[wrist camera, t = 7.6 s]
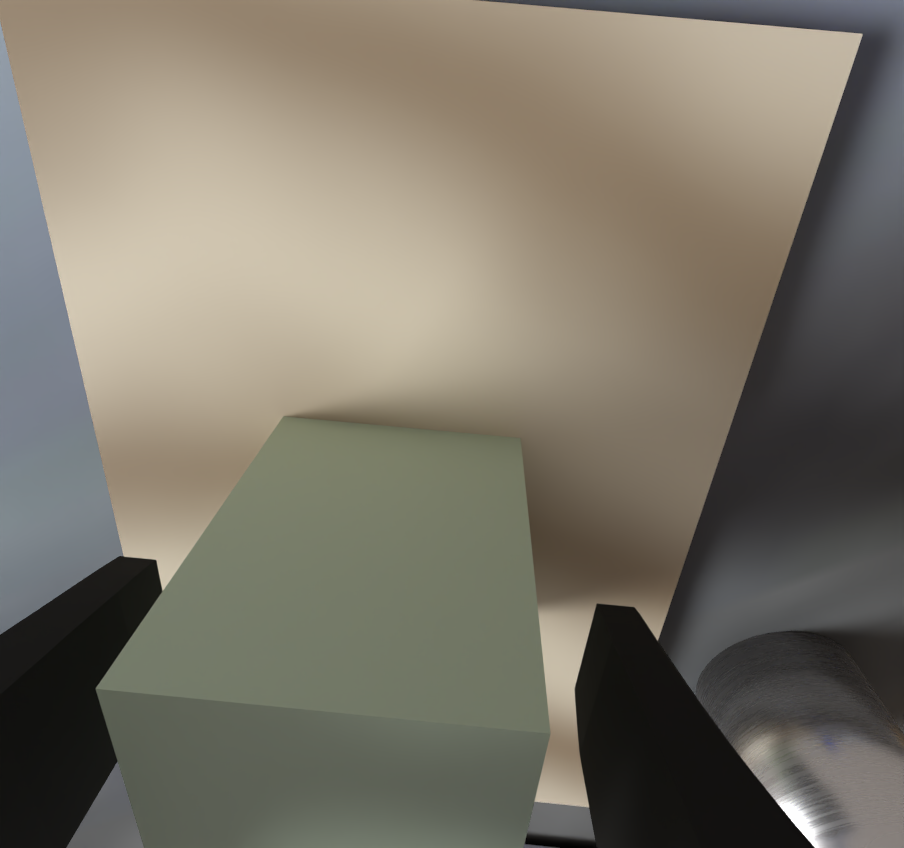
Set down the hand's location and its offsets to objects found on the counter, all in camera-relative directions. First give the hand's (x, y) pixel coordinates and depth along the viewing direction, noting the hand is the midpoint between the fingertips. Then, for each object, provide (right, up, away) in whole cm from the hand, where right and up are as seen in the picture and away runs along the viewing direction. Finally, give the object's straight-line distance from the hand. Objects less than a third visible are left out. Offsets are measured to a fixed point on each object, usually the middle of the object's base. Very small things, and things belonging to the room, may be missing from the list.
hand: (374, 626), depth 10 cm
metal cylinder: (+10, -4, +6) cm, 12 cm away
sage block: (0, +1, +2) cm, 3 cm away
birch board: (0, +2, +3) cm, 4 cm away
